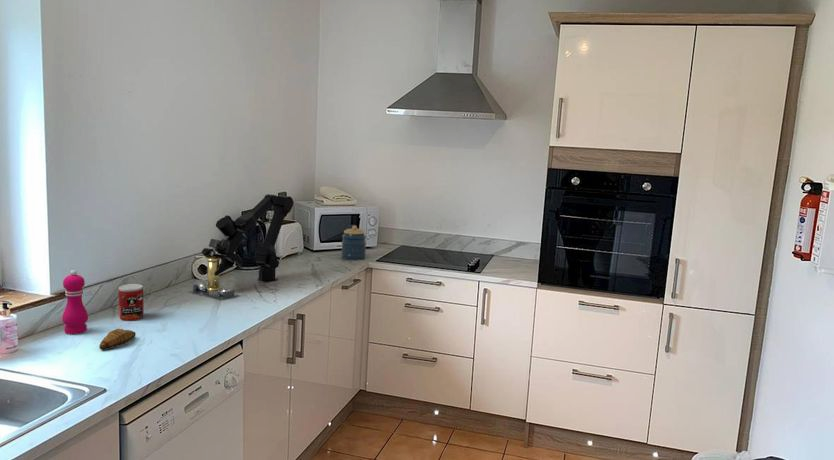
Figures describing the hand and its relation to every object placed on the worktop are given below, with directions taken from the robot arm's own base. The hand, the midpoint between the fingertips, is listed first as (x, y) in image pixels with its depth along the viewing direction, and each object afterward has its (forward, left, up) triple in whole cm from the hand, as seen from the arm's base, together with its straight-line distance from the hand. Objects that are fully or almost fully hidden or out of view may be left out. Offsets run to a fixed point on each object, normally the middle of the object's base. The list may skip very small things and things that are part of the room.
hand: (210, 274), depth 242 cm
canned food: (+36, +10, -9) cm, 38 cm away
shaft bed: (-1, 0, -8) cm, 8 cm away
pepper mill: (+55, +13, -9) cm, 57 cm away
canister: (-95, -19, -9) cm, 98 cm away
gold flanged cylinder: (-1, 0, -7) cm, 7 cm away
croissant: (+50, +32, -9) cm, 60 cm away
